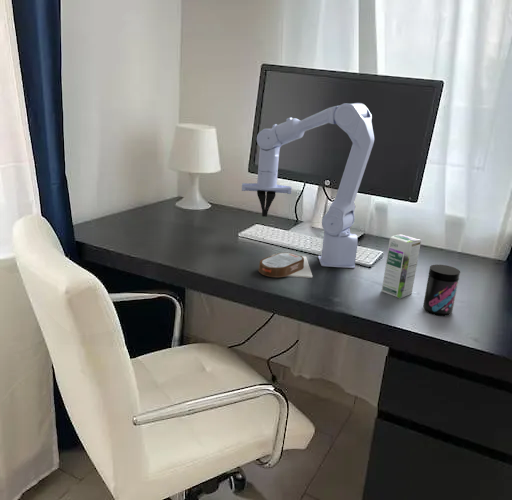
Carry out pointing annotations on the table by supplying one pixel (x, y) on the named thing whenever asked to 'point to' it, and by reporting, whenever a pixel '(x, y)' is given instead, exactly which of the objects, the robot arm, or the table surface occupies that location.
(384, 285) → the syrup box
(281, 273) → the tin
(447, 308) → the supplement container
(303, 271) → the white flat panel
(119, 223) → the table surface
